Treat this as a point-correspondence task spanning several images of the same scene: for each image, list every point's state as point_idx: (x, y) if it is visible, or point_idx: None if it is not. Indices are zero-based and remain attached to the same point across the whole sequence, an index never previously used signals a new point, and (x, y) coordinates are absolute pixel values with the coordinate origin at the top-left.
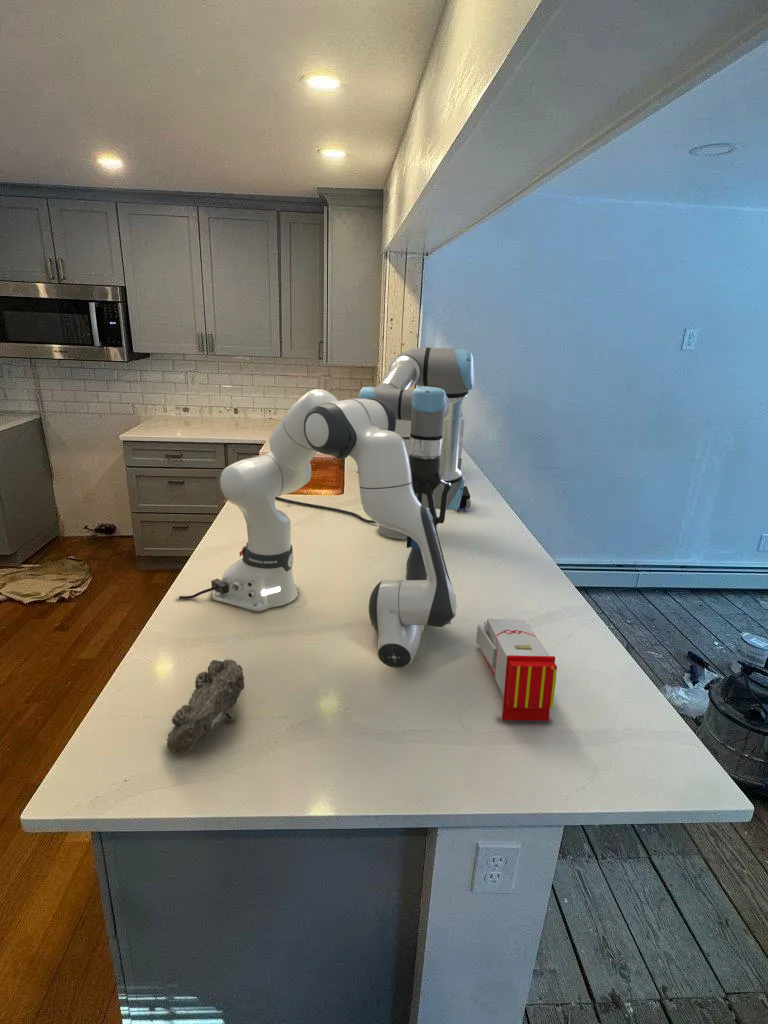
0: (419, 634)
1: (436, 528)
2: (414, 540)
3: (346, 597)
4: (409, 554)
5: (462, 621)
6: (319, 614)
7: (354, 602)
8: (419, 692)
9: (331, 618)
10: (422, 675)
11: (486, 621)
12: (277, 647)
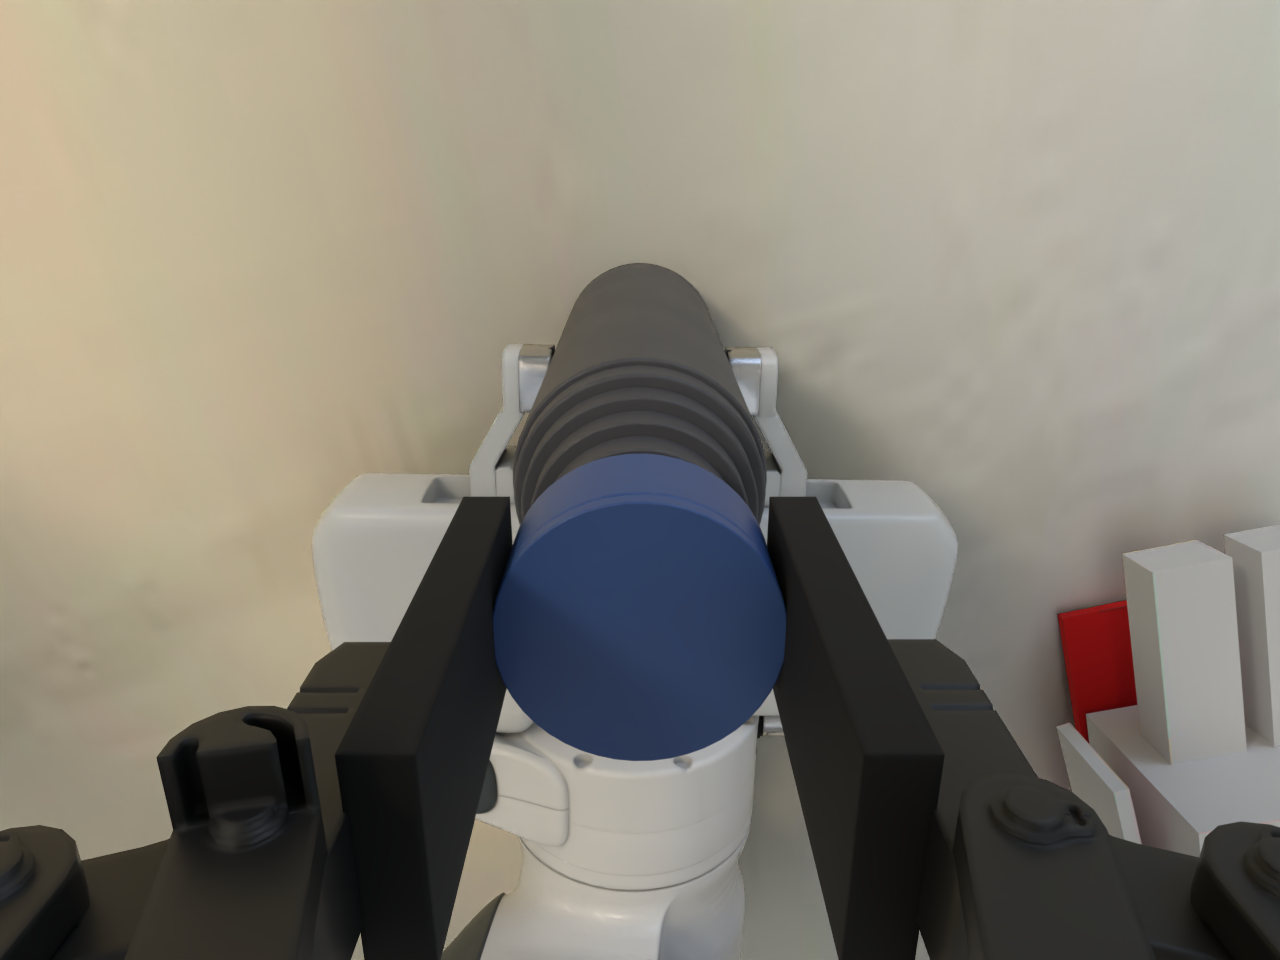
0: (740, 935)
1: (1001, 724)
2: (575, 726)
3: (92, 201)
4: (524, 486)
5: (979, 325)
6: (39, 482)
7: (181, 262)
8: (752, 954)
9: (133, 508)
10: (755, 860)
11: (1169, 571)
12: (19, 823)
